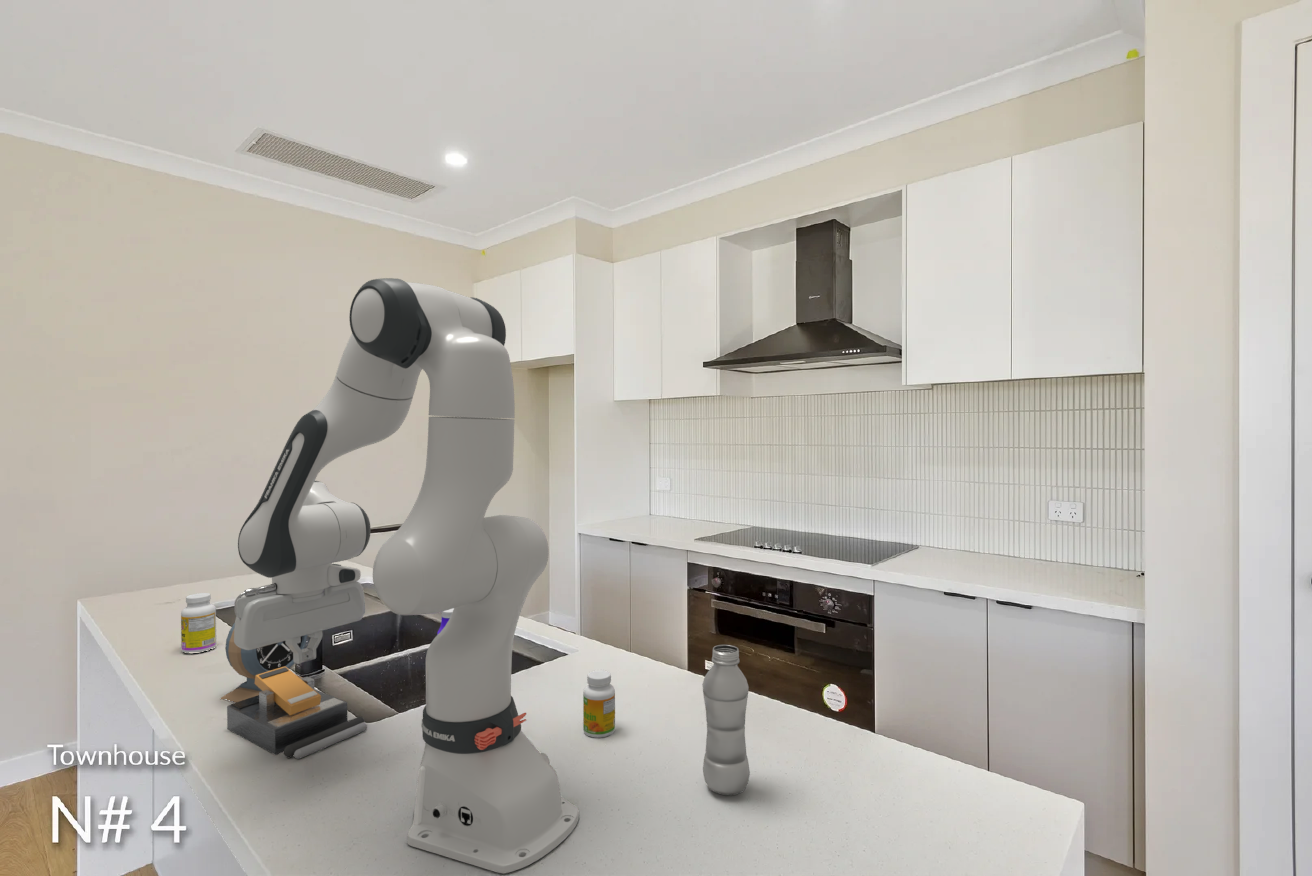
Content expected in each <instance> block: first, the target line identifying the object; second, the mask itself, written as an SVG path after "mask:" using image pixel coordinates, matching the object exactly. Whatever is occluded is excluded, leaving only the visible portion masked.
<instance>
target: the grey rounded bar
mask: <svg viewBox="0 0 1312 876" xmlns="http://www.w3.org/2000/svg"><path fill="white" fill-rule="evenodd" d="M367 729H368V726H367V723H366V722H365V719H364V717H363V716H361V715H360V716H357V717H354V718H352V719H350V720H348V721H347V722H345V723H342V724H340V725H337V726H335V727H332V728H330V729H327V730H325V731H322V732H320V733H317V734H315V735H312V736H310V737H308V738H305V739H303V740H300V741H298V742H295V743H293V744H290V745H288V746H287V747H286V748H285V749H284V752H283V755H284V757H286V758H292V757H294V758H295V759H297V760H299V759H302V758H304V757H307V756H309V755H312V754H314V753H316V752H318V751H321V750H323V749H326V748H328V747H331V746H332V745H335V744H337V743H340V742H341V741H344V740H347V739H349V738H352V737H353V736H355V735H358V734H360V733H362V732H365V731H367Z"/></svg>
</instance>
